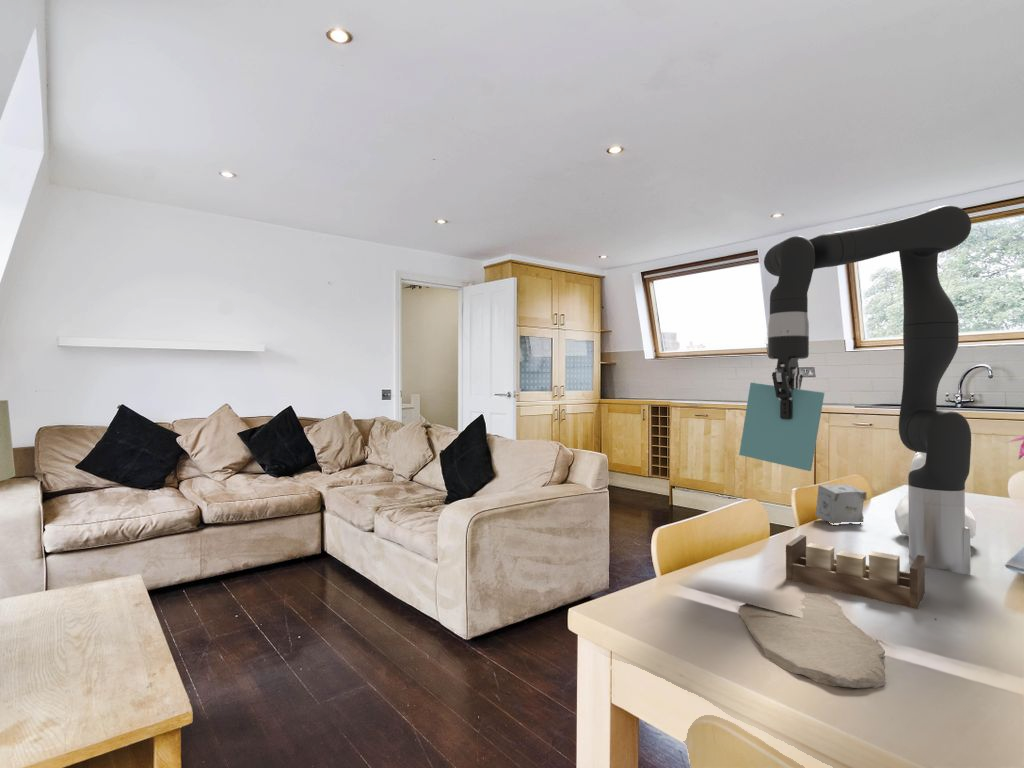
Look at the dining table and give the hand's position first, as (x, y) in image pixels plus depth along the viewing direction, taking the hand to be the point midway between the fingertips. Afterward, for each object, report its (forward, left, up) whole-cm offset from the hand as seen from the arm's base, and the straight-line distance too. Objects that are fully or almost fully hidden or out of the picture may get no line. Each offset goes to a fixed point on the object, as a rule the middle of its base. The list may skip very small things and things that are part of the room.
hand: (787, 418), depth 110 cm
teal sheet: (+2, -1, -9) cm, 10 cm away
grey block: (-23, -49, -32) cm, 62 cm away
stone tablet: (+4, +32, -32) cm, 45 cm away
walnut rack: (-9, +10, -31) cm, 34 cm away
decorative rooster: (-41, -38, -32) cm, 64 cm away
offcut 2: (-13, +14, -30) cm, 35 cm away
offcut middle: (-8, +12, -30) cm, 33 cm away
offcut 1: (-4, +10, -30) cm, 32 cm away
